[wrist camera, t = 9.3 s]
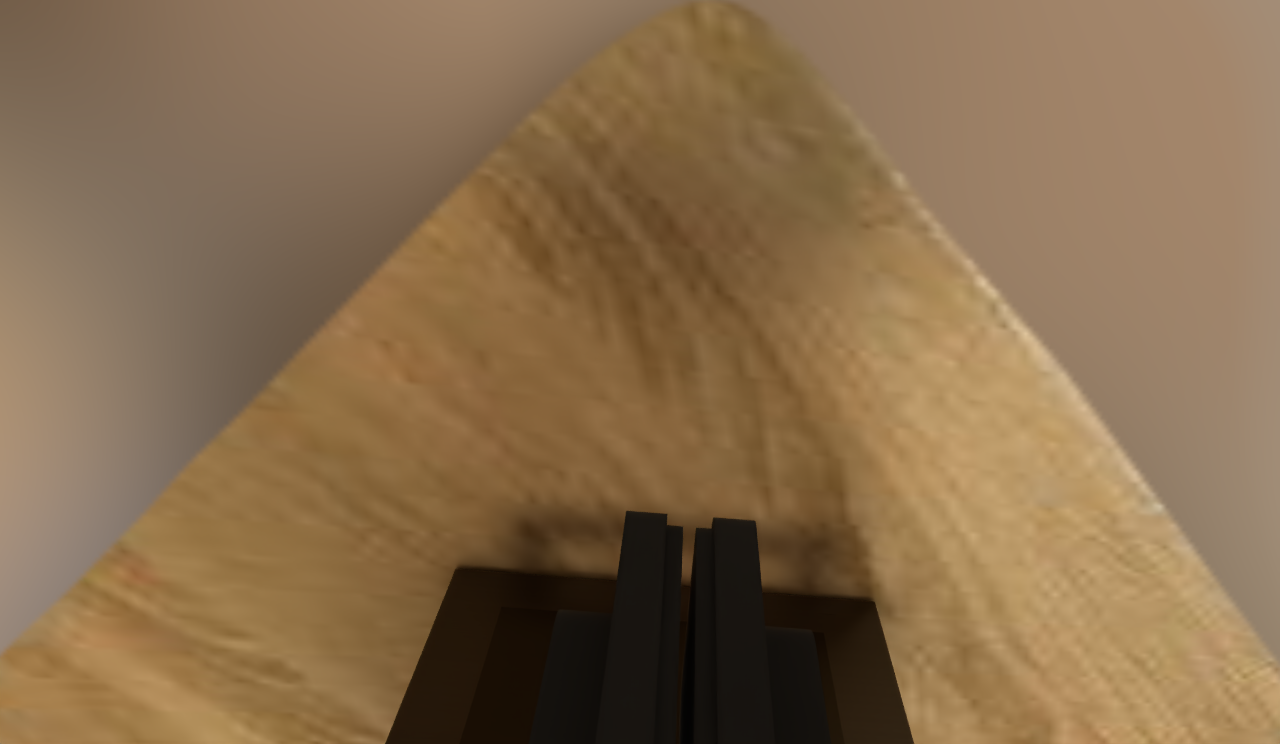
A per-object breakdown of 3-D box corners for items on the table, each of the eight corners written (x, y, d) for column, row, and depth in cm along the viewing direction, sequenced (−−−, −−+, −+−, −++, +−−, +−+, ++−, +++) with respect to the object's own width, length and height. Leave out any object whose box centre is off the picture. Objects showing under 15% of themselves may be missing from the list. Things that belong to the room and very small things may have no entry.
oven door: (451, 508, 32) (311, 818, 20) (887, 542, 31) (998, 880, 20) (457, 600, 33) (331, 931, 22) (868, 633, 33) (958, 990, 21)
